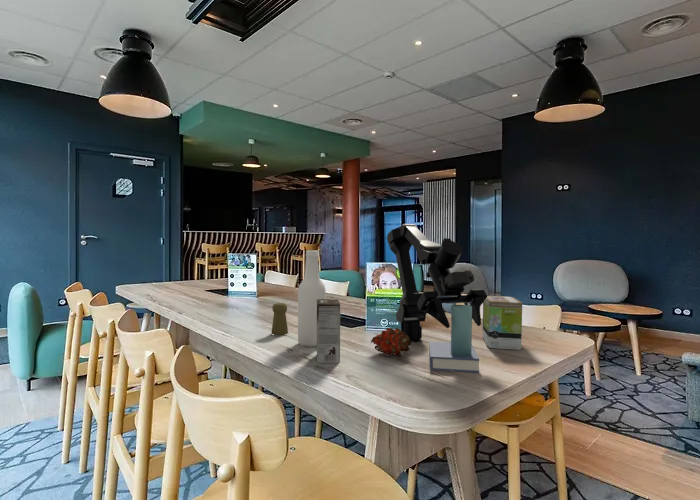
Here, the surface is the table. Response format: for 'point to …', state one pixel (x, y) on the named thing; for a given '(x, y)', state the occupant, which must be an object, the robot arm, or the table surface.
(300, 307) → the alcohol
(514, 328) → the tea box
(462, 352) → the teal smooth upright cylinder
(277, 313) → the cork
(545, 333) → the table surface
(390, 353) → the dragon fruit
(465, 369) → the book
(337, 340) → the coffee box
